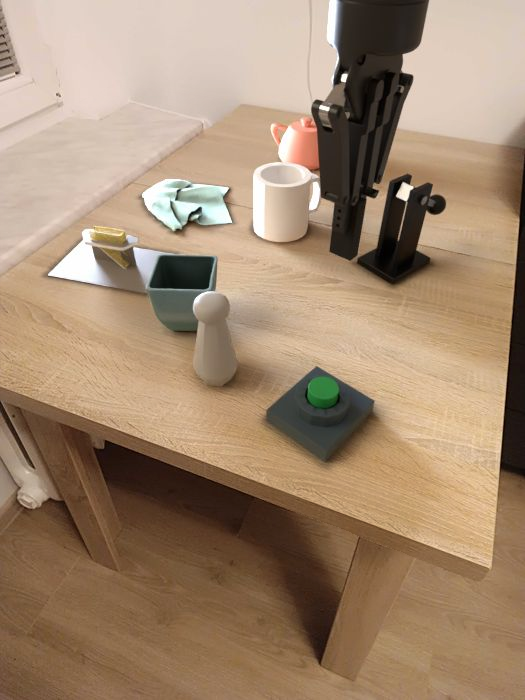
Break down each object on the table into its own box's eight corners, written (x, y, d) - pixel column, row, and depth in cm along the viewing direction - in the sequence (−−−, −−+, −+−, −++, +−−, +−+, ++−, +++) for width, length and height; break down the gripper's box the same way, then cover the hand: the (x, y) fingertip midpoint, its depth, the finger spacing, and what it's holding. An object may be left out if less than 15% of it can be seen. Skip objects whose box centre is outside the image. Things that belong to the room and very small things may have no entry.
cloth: (164, 176, 111) (163, 166, 109) (256, 193, 106) (256, 182, 104) (114, 219, 97) (111, 208, 95) (217, 241, 92) (216, 229, 90)
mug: (300, 205, 102) (303, 153, 94) (331, 227, 96) (338, 173, 88) (243, 223, 96) (242, 170, 89) (273, 247, 90) (275, 192, 83)
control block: (315, 377, 67) (317, 355, 64) (372, 412, 63) (377, 390, 60) (266, 420, 62) (266, 399, 59) (324, 462, 57) (328, 441, 55)
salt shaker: (207, 398, 64) (200, 320, 55) (187, 371, 68) (176, 294, 59) (246, 379, 67) (244, 303, 58) (224, 354, 70) (220, 278, 61)
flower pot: (165, 301, 79) (157, 252, 72) (220, 303, 78) (218, 254, 72) (154, 339, 72) (144, 289, 66) (214, 341, 72) (211, 291, 66)
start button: (319, 381, 62) (320, 371, 60) (343, 396, 60) (345, 386, 59) (301, 398, 60) (302, 388, 58) (325, 413, 58) (327, 404, 57)
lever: (426, 212, 88) (436, 193, 87) (442, 219, 86) (453, 200, 85) (390, 198, 79) (401, 177, 77) (408, 206, 77) (419, 185, 75)
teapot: (275, 147, 123) (277, 106, 117) (348, 155, 121) (354, 113, 114) (264, 167, 115) (264, 124, 108) (342, 176, 112) (347, 133, 105)
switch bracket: (393, 244, 92) (411, 165, 81) (429, 263, 87) (452, 182, 77) (356, 263, 87) (369, 182, 77) (392, 284, 82) (411, 201, 72)
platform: (146, 293, 80) (139, 258, 76) (47, 275, 83) (35, 240, 79) (175, 254, 88) (170, 220, 84) (84, 238, 92) (75, 206, 87)
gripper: (381, -27, 43) (347, 219, 59) (288, -9, 36) (278, 266, 52) (464, -18, 40) (403, 241, 56) (378, 5, 32) (338, 295, 49)
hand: (343, 253), depth 54 cm, fingers closed
